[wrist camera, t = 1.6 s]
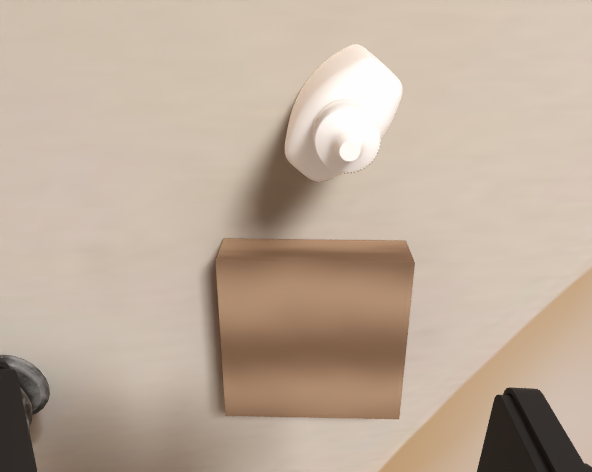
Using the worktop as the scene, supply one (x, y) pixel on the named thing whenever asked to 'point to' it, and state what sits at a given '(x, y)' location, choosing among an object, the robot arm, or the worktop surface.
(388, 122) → the eye dropper bottle
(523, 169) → the worktop surface
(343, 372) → the walnut stand
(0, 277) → the worktop surface
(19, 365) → the salt shaker
